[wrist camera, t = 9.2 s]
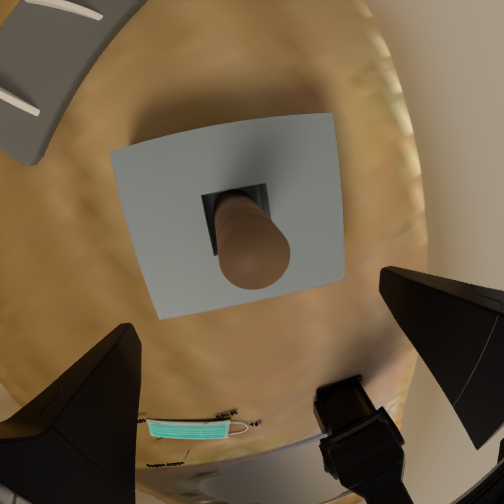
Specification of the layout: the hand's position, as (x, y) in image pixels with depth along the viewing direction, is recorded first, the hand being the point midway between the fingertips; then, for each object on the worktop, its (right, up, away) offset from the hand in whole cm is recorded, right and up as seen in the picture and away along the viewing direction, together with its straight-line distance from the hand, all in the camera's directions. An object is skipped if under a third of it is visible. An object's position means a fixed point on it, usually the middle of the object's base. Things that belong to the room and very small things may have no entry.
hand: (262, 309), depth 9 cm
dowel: (-2, +5, +11) cm, 12 cm away
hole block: (-2, +5, +12) cm, 13 cm away
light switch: (-19, +20, +4) cm, 28 cm away
